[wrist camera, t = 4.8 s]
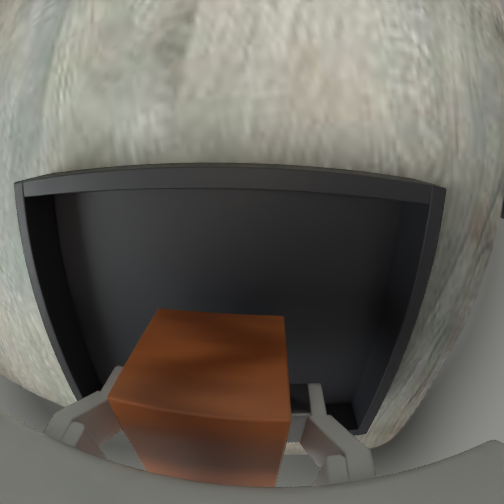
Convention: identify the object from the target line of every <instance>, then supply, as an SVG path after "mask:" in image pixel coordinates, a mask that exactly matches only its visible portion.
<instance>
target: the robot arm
mask: <svg viewBox="0 0 504 504" xmlns="http://www.w3.org/2000/svg"><path fill="white" fill-rule="evenodd" d="M122 369H123V366H119V365H118V366H116V367H115V368H114V369H113V371H112V373H111V374H110V376H109V378H108V379H107V381H106V383H105V384H104V386H103V388H102V390H101V391H96V392H94V393H92V394H90V395H88V396H87V397H85V398H83V399H81V400H79V401H77V402H75V403H73V404H71V405H69V406H67V407H65V408H63V409H61V410H59V411H57V412H56V413H55V414H54V416H53V417H52V419H51V420H50V422H49V424H48V425H47V427H46V429H45V430H44V432H43V433H42V432H40V431H38V430H36V429H34V428H32V427H30V426H29V425H26V424H25V423H23V422H21V421H19V420H18V419H16V418H14V417H13V416H11V415H9V414H8V413H6V412H4V411H3V410H1V409H0V504H504V444H503V443H502V442H499V441H497V440H490V441H487V442H485V443H483V444H481V445H478V446H476V447H474V448H472V449H469V450H467V451H464V452H462V453H459V454H457V455H454V456H451V457H449V458H446V459H443V460H440V461H437V462H434V463H431V464H428V465H424V466H421V467H418V468H414V469H411V470H407V471H403V472H399V473H395V474H390V475H386V476H381V477H376V472H375V468H374V464H373V460H372V456H371V452H370V450H369V449H368V448H367V447H366V446H365V445H364V444H362V443H361V442H360V441H359V440H358V439H357V438H356V437H355V436H353V435H352V434H351V433H350V432H349V431H348V430H347V429H346V428H344V427H343V426H342V425H341V424H340V423H339V422H338V421H337V420H336V419H335V418H333V417H332V416H331V415H327V413H326V407H325V402H324V397H323V391H322V386H321V384H320V383H307V384H306V383H298V384H289V388H290V403H291V419H292V420H291V425H290V429H289V434H288V438H287V442H300V444H301V445H302V446H303V448H304V449H305V450H306V452H307V453H308V454H309V455H310V457H311V458H312V459H313V460H314V462H315V463H316V464H317V465H318V467H319V468H320V469H321V470H320V471H319V473H318V475H317V477H316V479H315V481H314V482H313V485H312V486H301V487H252V486H236V485H224V484H215V483H207V482H199V481H193V480H187V479H181V478H176V477H170V476H166V475H161V474H156V473H152V472H148V471H144V470H140V469H136V468H133V467H129V466H126V465H122V464H119V463H116V462H113V461H110V460H107V459H106V457H105V455H104V454H103V452H102V451H101V449H100V448H99V447H100V446H101V445H102V444H104V443H105V442H106V441H107V440H109V439H110V438H111V437H113V436H114V435H115V434H116V433H118V432H119V431H120V430H122V427H121V426H120V424H119V422H118V420H117V418H116V416H115V414H114V412H113V410H112V408H111V406H110V403H109V401H108V399H107V396H108V394H109V392H110V390H111V388H112V387H113V385H114V383H115V381H116V379H117V378H118V376H119V374H120V372H121V371H122Z"/></svg>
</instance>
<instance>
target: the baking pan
mask: <svg viewBox="0 0 504 504" xmlns="http://www.w3.org/2000/svg"><path fill="white" fill-rule="evenodd" d="M14 190H15V200H16V209H17V216H18V223H19V230H20V235H21V241H22V246H23V251H24V256H25V261H26V265H27V269H28V273H29V277H30V281H31V285H32V288H33V292H34V295H35V299H36V302H37V305H38V309H39V312H40V315H41V318H42V321H43V324H44V326H45V329H46V332H47V335H48V337H49V340H50V342H51V345H52V347H53V350H54V352H55V355H56V357H57V359H58V362H59V364H60V366H61V369H62V371H63V373H64V375H65V377H66V379H67V381H68V384H69V386H70V388H71V390H72V392H73V394H74V395H75V397H76V399H77V401H79V400H81V399H83V398H85V397H87V396H88V395H90V394H92V393H94V392H96V391H101V390H102V388H103V386H104V384H105V383H106V381H107V379H108V378H109V376H110V374H111V373H112V371H113V369H114V368H115V367H116V366H118V365H119V366H123V367H124V365H125V364H126V362H127V360H128V358H129V357H130V355H131V353H132V352H133V350H134V348H135V346H136V345H137V343H138V341H139V340H140V338H141V336H142V335H143V333H144V331H145V330H146V328H147V326H148V325H149V323H150V321H151V320H152V318H153V316H154V315H155V313H156V312H157V310H158V309H159V308H163V309H174V310H186V311H198V312H212V313H228V314H247V315H272V316H283V317H284V322H285V334H286V346H287V360H288V373H289V384H298V383H306V384H307V383H320V384H321V386H322V391H323V397H324V402H325V407H326V413H327V415H331V416H332V417H333V418H335V419H336V420H337V421H338V422H339V423H340V424H341V425H342V426H343V427H344V428H346V429H347V430H348V431H349V432H350V433H351V434H352V435H353V436H354V435H362V434H366V433H367V431H368V429H369V427H370V426H371V424H372V422H373V420H374V418H375V416H376V414H377V412H378V410H379V408H380V406H381V404H382V402H383V400H384V398H385V396H386V394H387V392H388V390H389V388H390V386H391V383H392V381H393V379H394V377H395V374H396V372H397V370H398V367H399V365H400V363H401V360H402V358H403V355H404V353H405V350H406V348H407V345H408V342H409V340H410V337H411V334H412V331H413V329H414V326H415V323H416V320H417V317H418V314H419V311H420V308H421V304H422V301H423V298H424V294H425V291H426V287H427V284H428V280H429V276H430V273H431V269H432V265H433V260H434V256H435V252H436V247H437V242H438V237H439V232H440V227H441V221H442V215H443V209H444V202H445V195H446V188H444V187H441V186H437V185H434V184H430V183H427V182H423V181H420V180H416V179H411V178H405V177H399V176H392V175H385V174H378V173H370V172H362V171H353V170H344V169H334V168H323V167H311V166H297V165H280V164H257V163H169V164H146V165H130V166H116V167H104V168H94V169H84V170H76V171H67V172H60V173H53V174H47V175H42V176H38V177H34V178H30V179H26V180H22V181H18V182H15V183H14Z"/></svg>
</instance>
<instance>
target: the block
mask: <svg viewBox="0 0 504 504" xmlns="http://www.w3.org/2000/svg"><path fill="white" fill-rule="evenodd" d="M107 399H108V401H109V403H110V406H111V408H112V410H113V412H114V414H115V416H116V418H117V420H118V422H119V424H120V426H121V427H122V429H123V431H124V433H125V435H126V437H127V438H128V440H129V442H130V444H131V446H132V447H133V449H134V451H135V453H136V454H137V456H138V458H139V459H140V461H141V463H142V464H143V466H144V467H145V469H146V470H147V471H148V472H152V473H156V474H161V475H166V476H170V477H176V478H181V479H187V480H193V481H199V482H207V483H215V484H224V485H236V486H252V487H275V486H276V482H277V479H278V475H279V471H280V467H281V463H282V459H283V455H284V451H285V447H286V443H287V438H288V434H289V429H290V425H291V420H292V419H291V403H290V388H289V373H288V360H287V346H286V334H285V322H284V317H283V316H272V315H247V314H228V313H212V312H198V311H186V310H174V309H163V308H159V309H158V310H157V312H156V313H155V315H154V316H153V318H152V320H151V321H150V323H149V325H148V326H147V328H146V330H145V331H144V333H143V335H142V336H141V338H140V340H139V341H138V343H137V345H136V346H135V348H134V350H133V352H132V353H131V355H130V357H129V358H128V360H127V362H126V364H125V365H124V367H123V369H122V371H121V372H120V374H119V376H118V378H117V379H116V381H115V383H114V385H113V387H112V388H111V390H110V392H109V394H108V396H107Z"/></svg>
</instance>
